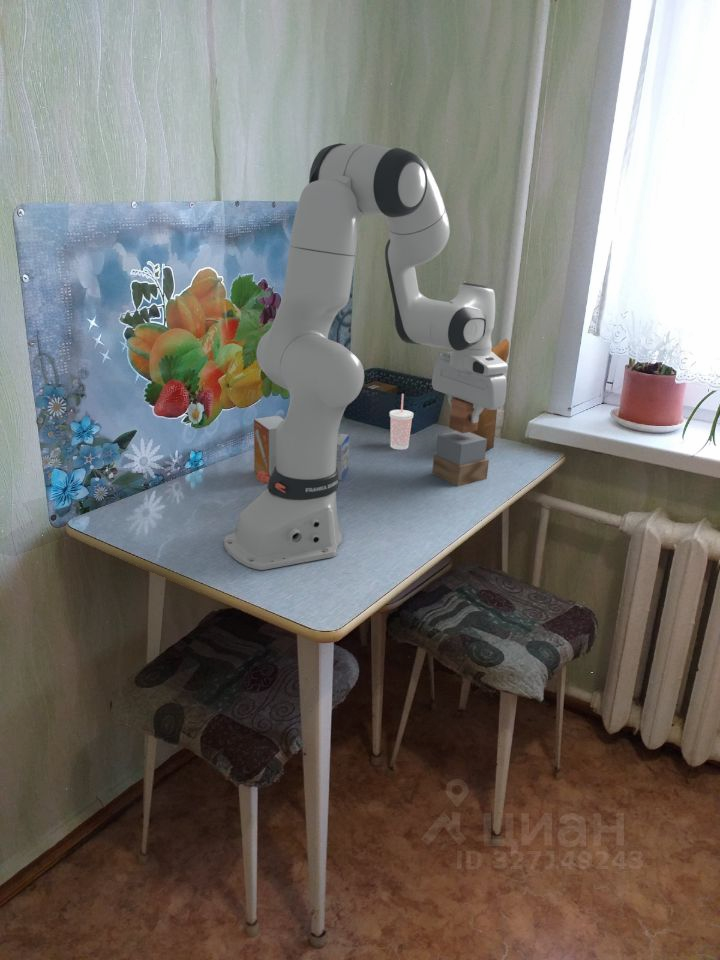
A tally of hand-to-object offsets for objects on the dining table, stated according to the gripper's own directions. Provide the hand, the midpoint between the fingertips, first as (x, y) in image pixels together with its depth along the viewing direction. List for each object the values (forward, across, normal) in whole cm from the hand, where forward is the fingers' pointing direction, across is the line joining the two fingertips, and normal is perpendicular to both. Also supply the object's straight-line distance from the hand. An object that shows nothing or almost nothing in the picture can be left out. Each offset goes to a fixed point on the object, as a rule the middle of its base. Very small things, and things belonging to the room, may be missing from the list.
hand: (464, 418), depth 173 cm
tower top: (+10, 0, 0) cm, 10 cm away
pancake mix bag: (+14, -10, +17) cm, 24 cm away
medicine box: (+14, -16, -24) cm, 32 cm away
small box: (+14, -22, -37) cm, 45 cm away
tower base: (+14, 0, 0) cm, 15 cm away
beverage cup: (+14, -23, +1) cm, 27 cm away
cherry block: (+3, 0, 0) cm, 3 cm away
